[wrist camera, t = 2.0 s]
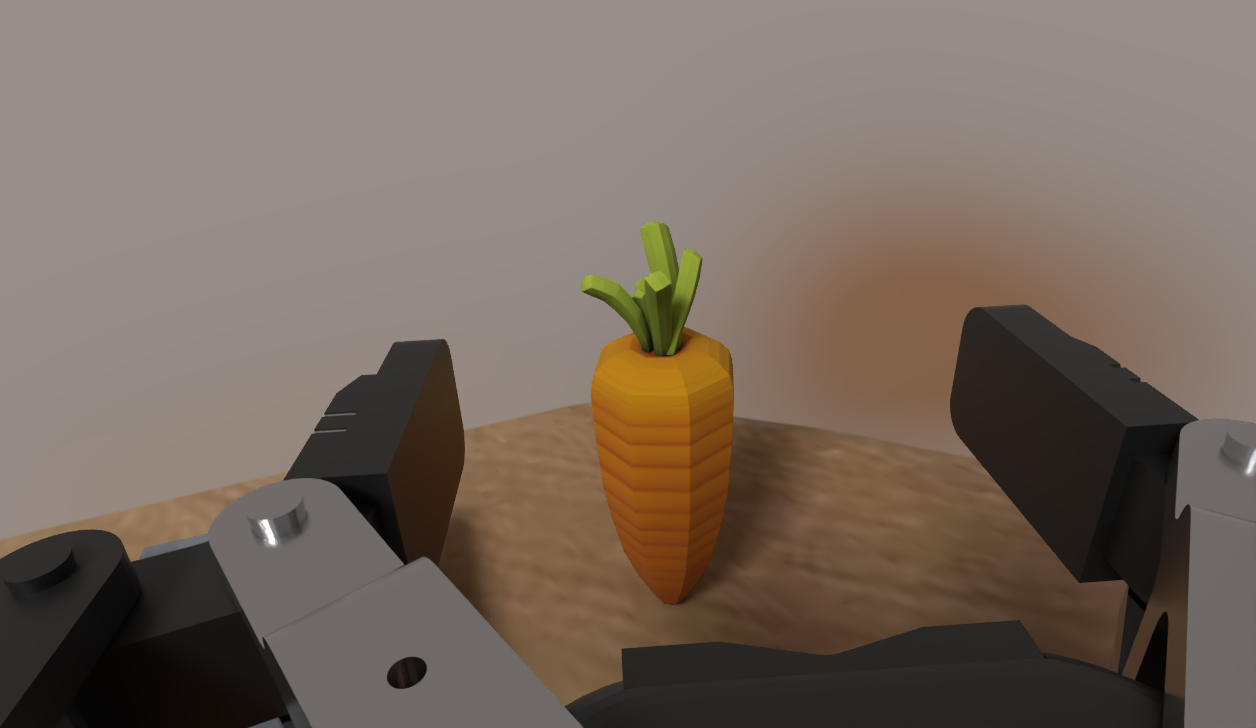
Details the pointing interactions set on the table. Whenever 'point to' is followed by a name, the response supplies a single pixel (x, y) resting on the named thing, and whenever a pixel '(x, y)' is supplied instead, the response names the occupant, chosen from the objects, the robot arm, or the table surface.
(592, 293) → the carrot
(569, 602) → the table surface
